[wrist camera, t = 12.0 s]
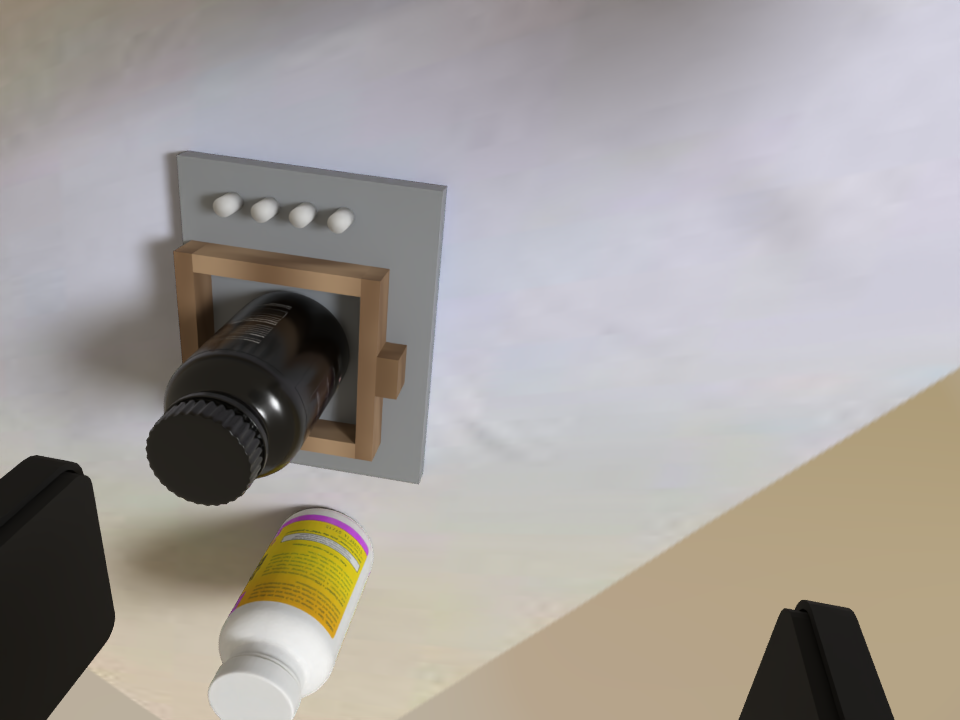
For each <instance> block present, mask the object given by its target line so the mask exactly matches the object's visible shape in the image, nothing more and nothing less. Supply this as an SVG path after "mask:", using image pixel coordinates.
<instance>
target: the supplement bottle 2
mask: <svg viewBox="0 0 960 720" xmlns="http://www.w3.org/2000/svg"><path fill="white" fill-rule="evenodd" d="M373 559H374V554H373V547H372V544H371V541H370V539H369V537H368V535H367V534H366V532H365V531H364V530H363V528H362V527H361V526H360V525H359V524H358V523H356V522H355V521H354V520H353V519H351V518H350V517H348V516H346V515H344V514H342V513H340V512H337V511H334V510H330V509H323V508H313V509H306V510H303V511H300V512H297V513H295V514H293V515H292V516H290V517H289V518H288V519H287V520H286V521H285V522H284V523H283V524H282V526H281V527H280V529H279V530H278V532H277V534H276V535H275V537H274V539H273V541H272V542H271V544H270V545H269V547H268V549H267V551H266V553H265V554H264V556H263V558H262V559H261V561H260V563H259V565H258V566H257V568H256V570H255V571H254V573H253V575H252V577H251V578H250V580H249V582H248V584H247V585H246V587H245V589H244V590H243V592H242V594H241V596H240V597H239V599H238V601H237V603H236V604H235V606H234V608H233V609H232V611H231V613H230V614H229V616H228V618H227V620H226V621H225V623H224V625H223V627H222V629H221V633H220V637H219V653H220V657H221V660H222V663H223V664H222V665H221V666H220V667H219V669H218V671H217V673H216V675H215V677H214V678H213V680H212V682H211V684H210V686H209V690H208V699H209V703H210V706H211V707H212V709H213V711H214V712H215V713H216V715H217V716H218V717H219V718H220V719H221V720H293V718H294V716H295V714H296V712H297V710H298V708H299V706H300V703H301V698H303V697H306V696H308V695H310V694H312V693H314V692H315V691H317V690H318V689H319V688H320V687H321V686H322V685H323V684H324V683H325V682H326V681H327V679H328V678H329V676H330V674H331V672H332V669H333V667H334V664H335V662H336V659H337V657H338V654H339V651H340V648H341V646H342V643H343V641H344V638H345V636H346V633H347V631H348V628H349V625H350V623H351V620H352V618H353V615H354V613H355V610H356V607H357V605H358V602H359V600H360V597H361V595H362V592H363V589H364V587H365V584H366V582H367V579H368V577H369V574H370V571H371V568H372V565H373Z"/></svg>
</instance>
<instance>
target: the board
mask: <svg viewBox="0 0 960 720" xmlns="http://www.w3.org/2000/svg"><path fill="white" fill-rule="evenodd" d="M177 168H178V181H179V194H180V208H181V221H182V234H183V245H184V244H186V243H188V242H189V241H191V240H194V241H201V242H208V243H215V244H222V245H228V246H235V247H242V248H249V249H256V250H263V251H270V252H277V253H283V254H290V255H297V256H304V257H311V258H318V259H325V260H331V261H338V262H345V263H352V264H359V265H366V266H373V267H379V268H386V269H390V274H389V293H388V312H387V331H386V342H390V343H396V344H403V345H407V353H406V368H405V383H404V385H403V387H402V389H401V391H400V393H399V395H398V397H397V399H396V400H395V399H388V398H383V407H382V426H381V443H380V445H379V448H378V450H377V452H376V454H375V456H374V458H373V460H372V462H371V461H365V460H359V459H353V458H347V457H341V456H335V455H329V454H323V453H317V452H311V451H305V450H299V452H298V453H297V454H296V456H295V457H294V458H293V459H292V461H291V462H290V463H295V464H301V465H307V466H312V467H318V468H324V469H330V470H336V471H342V472H348V473H354V474H360V475H366V476H372V477H378V478H384V479H390V480H396V481H402V482H408V483H414V484H419V483H420V480H421V477H422V474H423V466H424V454H425V442H426V430H427V418H428V406H429V394H430V382H431V370H432V359H433V347H434V335H435V323H436V311H437V299H438V287H439V275H440V263H441V251H442V239H443V228H444V216H445V204H446V192H447V186H442V185H435V184H427V183H420V182H413V181H405V180H398V179H391V178H383V177H376V176H369V175H361V174H354V173H347V172H339V171H332V170H325V169H317V168H310V167H303V166H295V165H288V164H281V163H273V162H266V161H259V160H251V159H244V158H237V157H229V156H222V155H215V154H207V153H200V152H193V151H186V152H183V153H181V154H178V155H177ZM211 279H212V296H213V313H214V330H215V333H216V332H217V331H218V330H219V329H220V328H221V327H222V326H223V325H224V324H225V323H226V322H227V321H229V320H230V319H231V318H232V317H233V316H234V315H235V314H236V313H237V312H238V311H239V310H240V309H242V308H243V307H244V306H245V305H246V304H247V303H249V302H250V301H251V300H253V299H255V298H256V297H258V296H261V295H263V294H267V293H271V292H279V291H286V292H294V293H298V294H302V295H305V296H307V297H310V298H312V299H314V300H315V301H317V302H319V303H320V304H322V305H323V306H324V307H326V308H327V309H328V310H329V311H330V312H331V313H332V314H333V315H334V316H335V317H336V319H337V320H338V321H339V323H340V324H341V326H342V328H343V330H344V332H345V334H346V337H347V341H348V345H349V364H348V368H347V371H346V374H345V376H344V378H343V380H342V381H341V383H340V385H339V387H338V388H337V390H336V392H335V393H334V395H333V397H332V398H331V400H330V402H329V403H328V405H327V406H326V408H325V410H324V411H323V413H322V415H321V416H320V418H319V419H323V420H330V421H336V422H342V423H348V424H354V425H356V410H357V382H358V353H359V325H360V297H356V296H350V295H343V294H336V293H330V292H323V291H316V290H309V289H303V288H296V287H289V286H283V285H276V284H269V283H262V282H256V281H249V280H242V279H236V278H229V277H222V276H215V275H211Z"/></svg>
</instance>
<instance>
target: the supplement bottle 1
mask: <svg viewBox="0 0 960 720" xmlns="http://www.w3.org/2000/svg"><path fill="white" fill-rule="evenodd" d="M348 364H349V345H348V341H347V337H346V334H345V332H344V330H343V328H342V326H341V324H340V323H339V321H338V320H337V319H336V317H335V316H334V315H333V314H332V313H331V312H330V311H329V310H328V309H327V308H326V307H324V306H323V305H322V304H320V303H319V302H317V301H315V300H314V299H312V298H310V297H307V296H305V295H302V294H298V293H294V292H286V291H279V292H271V293H267V294H263V295H261V296H258V297H256V298H255V299H253V300H251V301H250V302H249V303H247V304H246V305H245V306H244V307H243V308H242V309H240V310H239V311H238V312H237V313H236V314H235V315H234V316H233V317H232V318H231V319H230V320H229V321H227V322H226V323H225V324H224V325H223V326H222V327H221V328H220V329H219V330H218V331H217V332H216V333H215V334H214V335H213V336H212V337H210V338H209V339H208V340H207V341H206V342H205V343H204V344H203V345H202V346H201V347H200V348H199V349H198V350H197V351H196V352H195V353H193V354H192V355H191V356H190V357H189V358H188V359H187V360H186V361H185V362H184V363H183V364H182V365H181V366H180V367H179V368H178V369H177V371H176V372H175V373H174V374H173V376H172V377H171V379H170V381H169V383H168V385H167V388H166V392H165V397H164V414H163V416H162V417H161V418H160V419H159V420H158V421H157V422H156V423H155V425H154V427H153V428H152V429H151V430H150V432H149V437H148V438H147V440H146V441H147V446H146V451H147V459H148V461H149V463H150V467H151V469H152V470H153V471H154V475H155V476H156V477H157V478H158V479H159V480H160V482H161V484H163V485H164V486H166V487H167V489H168V490H169V491H171V492H173V493H175V494H176V495H177V496H178V497H181V498H184V499H185V500H186V501H191V502H194V503H196V504H203V505H206V506H210V505H215V506H218V505H220V504H227V503H229V502H230V501H235V500H236V499H237V498H238V497H240V496H242V495H243V494H244V493H245V491H246V490H247V489H248V488H249V487H250V486H251V484H252V483H253V481H254V480H255V479H257V478H261V477H265V476H268V475H271V474H273V473H275V472H277V471H279V470H281V469H282V468H284V467H285V466H286V465H287V464H289V463H290V462H291V461H292V459H293V458H294V457H295V456H296V454H297V453H298V452H299V450H300V449H301V447H302V445H303V444H304V442H305V441H306V439H307V437H308V436H309V434H310V432H311V431H312V429H313V428H314V426H315V424H316V423H317V421H318V419H319V418H320V416H321V415H322V413H323V411H324V410H325V408H326V406H327V405H328V403H329V402H330V400H331V398H332V397H333V395H334V393H335V392H336V390H337V388H338V387H339V385H340V383H341V381H342V380H343V378H344V376H345V374H346V371H347V368H348Z"/></svg>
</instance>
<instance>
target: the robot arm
mask: <svg viewBox="0 0 960 720" xmlns="http://www.w3.org/2000/svg"><path fill="white" fill-rule="evenodd" d="M114 622H115V612H114V606H113V600H112V594H111V589H110V583H109V577H108V572H107V566H106V560H105V554H104V549H103V543H102V537H101V532H100V526H99V520H98V514H97V509H96V503H95V497H94V492H93V486H92V482H91V479H90V478H89V477H88V476H86V475H84V474H83V471H82V468H81V467H80V466H79V465H78V464H77V463H74V462H70V461H65V460H60V459H54V458H49V457H44V456H38V455H35V456H30V457H28V458H27V459H25V460H23V461H22V462H21V463H19V464H18V465H17V466H16V467H15V468H13V469H12V470H11V471H10V472H8V473H7V474H6V475H5V476H3V477H2V478H1V479H0V720H47V718H48V717H49V716H50V714H51V713H52V712H53V710H54V709H55V708H56V707H57V705H58V704H59V703H60V701H61V700H62V699H63V698H64V696H65V695H66V694H67V692H68V691H69V690H70V689H71V687H72V686H73V685H74V683H75V682H76V681H77V679H78V678H79V677H80V676H81V674H82V673H83V672H84V670H85V669H86V668H87V667H88V665H89V664H90V663H91V661H92V660H93V659H94V657H95V656H96V655H97V654H98V652H99V651H100V650H101V648H102V647H103V646H104V645H105V643H106V642H107V640H108V639H109V637H110V635H111V632H112V630H113V626H114ZM739 720H894V717H893V715H892V712H891V709H890V706H889V704H888V701H887V698H886V696H885V693H884V690H883V688H882V685H881V682H880V679H879V677H878V674H877V671H876V669H875V666H874V663H873V661H872V658H871V655H870V652H869V650H868V647H867V644H866V642H865V639H864V636H863V634H862V631H861V628H860V625H859V623H858V620H857V618H856V616H855V614H854V612H853V611H852V610H851V609H849V608H845V607H840V606H834V605H829V604H824V603H819V602H813V601H808V600H801V601H800V602H799V603H798V604H797V606H796V608H795V610H792V609H786V608H784V609H783V610H782V611H781V613H780V615H779V617H778V620H777V622H776V625H775V627H774V630H773V632H772V635H771V638H770V640H769V643H768V645H767V648H766V651H765V653H764V656H763V658H762V661H761V664H760V666H759V669H758V671H757V674H756V676H755V679H754V681H753V684H752V687H751V689H750V692H749V694H748V697H747V700H746V702H745V705H744V707H743V710H742V712H741V715H740V717H739Z"/></svg>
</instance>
